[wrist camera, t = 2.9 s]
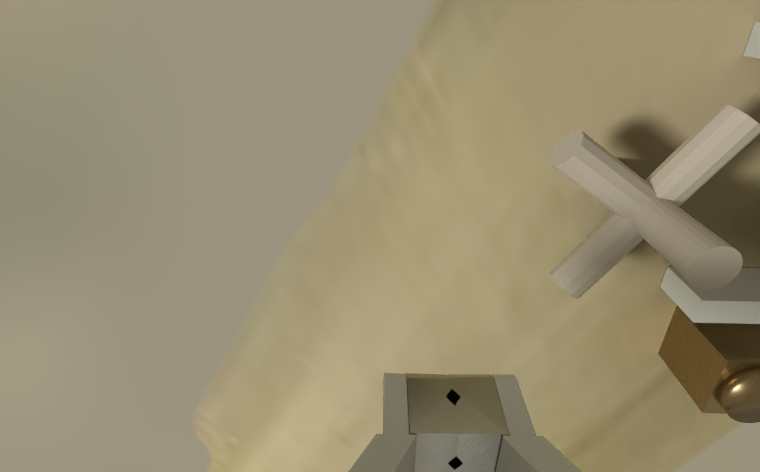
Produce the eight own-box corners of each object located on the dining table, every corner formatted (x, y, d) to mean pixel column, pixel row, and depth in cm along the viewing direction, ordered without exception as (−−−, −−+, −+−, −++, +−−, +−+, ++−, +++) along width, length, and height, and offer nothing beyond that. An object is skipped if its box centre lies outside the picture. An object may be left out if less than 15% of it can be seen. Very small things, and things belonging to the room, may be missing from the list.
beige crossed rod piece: (604, 34, 21) (753, 58, 13) (736, 149, 24) (939, 237, 15) (470, 193, 25) (511, 296, 17) (595, 278, 28) (689, 407, 19)
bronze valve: (717, 354, 30) (782, 426, 25) (657, 353, 31) (711, 424, 25) (739, 307, 29) (815, 374, 23) (676, 305, 29) (737, 372, 24)
